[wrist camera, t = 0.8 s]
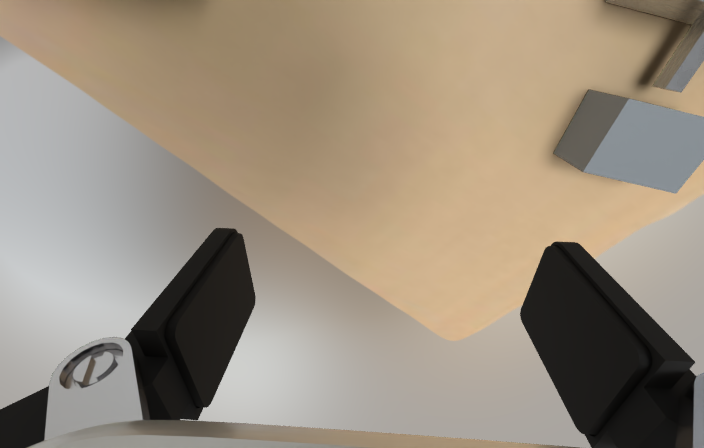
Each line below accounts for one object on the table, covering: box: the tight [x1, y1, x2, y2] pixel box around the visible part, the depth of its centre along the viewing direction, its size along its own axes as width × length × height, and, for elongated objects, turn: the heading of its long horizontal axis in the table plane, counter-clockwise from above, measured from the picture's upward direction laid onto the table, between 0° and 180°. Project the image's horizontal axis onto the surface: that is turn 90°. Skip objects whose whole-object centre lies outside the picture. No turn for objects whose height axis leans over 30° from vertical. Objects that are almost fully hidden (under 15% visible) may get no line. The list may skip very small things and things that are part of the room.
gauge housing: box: [554, 90, 704, 193], centre depth 30 cm, size 15×18×6 cm
